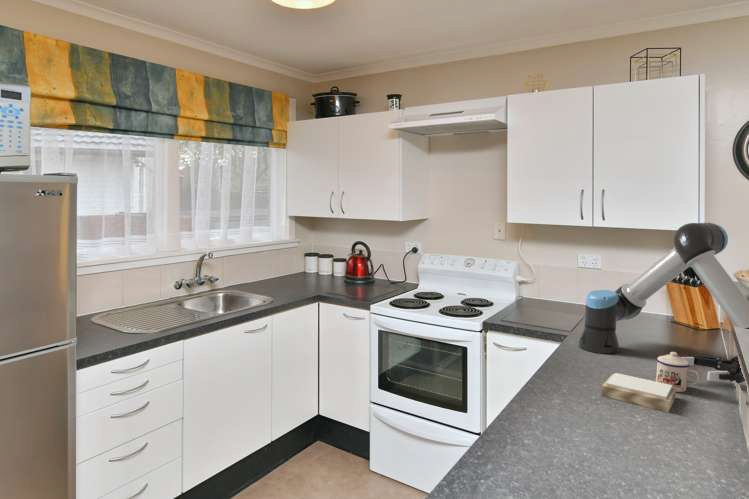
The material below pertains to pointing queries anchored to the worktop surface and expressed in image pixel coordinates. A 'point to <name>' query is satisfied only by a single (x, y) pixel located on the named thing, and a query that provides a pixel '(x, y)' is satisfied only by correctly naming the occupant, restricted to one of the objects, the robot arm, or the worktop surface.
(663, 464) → the worktop surface
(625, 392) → the oak tea stand
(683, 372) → the teacup with lid
